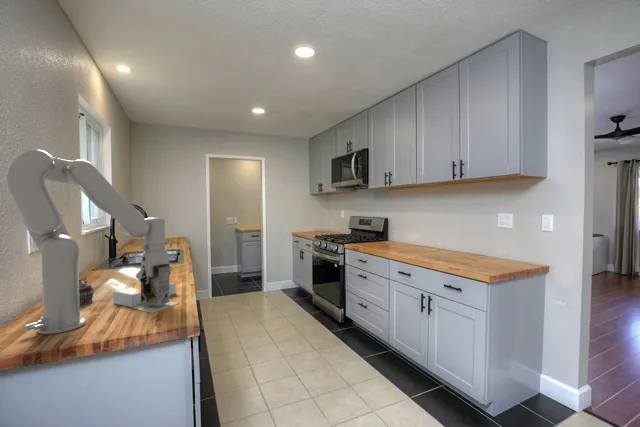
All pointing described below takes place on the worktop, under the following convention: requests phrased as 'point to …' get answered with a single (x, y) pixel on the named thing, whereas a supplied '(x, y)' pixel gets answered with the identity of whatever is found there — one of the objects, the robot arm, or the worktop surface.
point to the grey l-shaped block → (134, 297)
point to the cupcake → (85, 291)
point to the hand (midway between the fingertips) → (155, 290)
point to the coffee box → (157, 287)
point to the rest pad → (154, 307)
